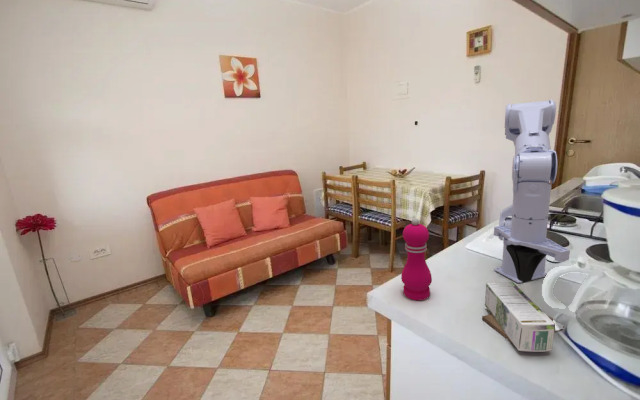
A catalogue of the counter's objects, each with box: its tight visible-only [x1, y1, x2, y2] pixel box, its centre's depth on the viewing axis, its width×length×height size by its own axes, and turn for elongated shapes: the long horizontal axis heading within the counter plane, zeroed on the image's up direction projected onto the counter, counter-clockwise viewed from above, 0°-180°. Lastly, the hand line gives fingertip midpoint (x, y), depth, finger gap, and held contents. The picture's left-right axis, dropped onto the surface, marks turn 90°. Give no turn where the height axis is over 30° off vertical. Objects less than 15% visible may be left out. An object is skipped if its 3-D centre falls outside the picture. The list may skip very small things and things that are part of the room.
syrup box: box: [484, 281, 555, 353], centre depth 60 cm, size 6×6×14 cm
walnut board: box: [481, 313, 556, 344], centre depth 62 cm, size 12×8×1 cm, turn 105°
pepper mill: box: [400, 217, 433, 301], centre depth 74 cm, size 7×7×20 cm
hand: (524, 279), depth 61 cm, fingers closed
